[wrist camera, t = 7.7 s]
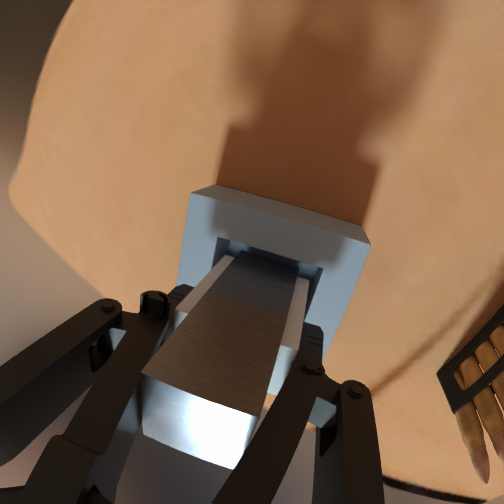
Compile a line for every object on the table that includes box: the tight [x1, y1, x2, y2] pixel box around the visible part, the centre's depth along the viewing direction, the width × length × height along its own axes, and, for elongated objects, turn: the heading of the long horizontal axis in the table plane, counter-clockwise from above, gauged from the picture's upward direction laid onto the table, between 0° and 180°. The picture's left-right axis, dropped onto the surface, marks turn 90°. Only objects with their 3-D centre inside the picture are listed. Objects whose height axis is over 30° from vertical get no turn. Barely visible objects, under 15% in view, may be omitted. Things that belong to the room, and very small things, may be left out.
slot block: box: [177, 185, 371, 361], centre depth 19 cm, size 9×10×4 cm
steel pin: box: [140, 250, 299, 469], centre depth 13 cm, size 4×4×11 cm
